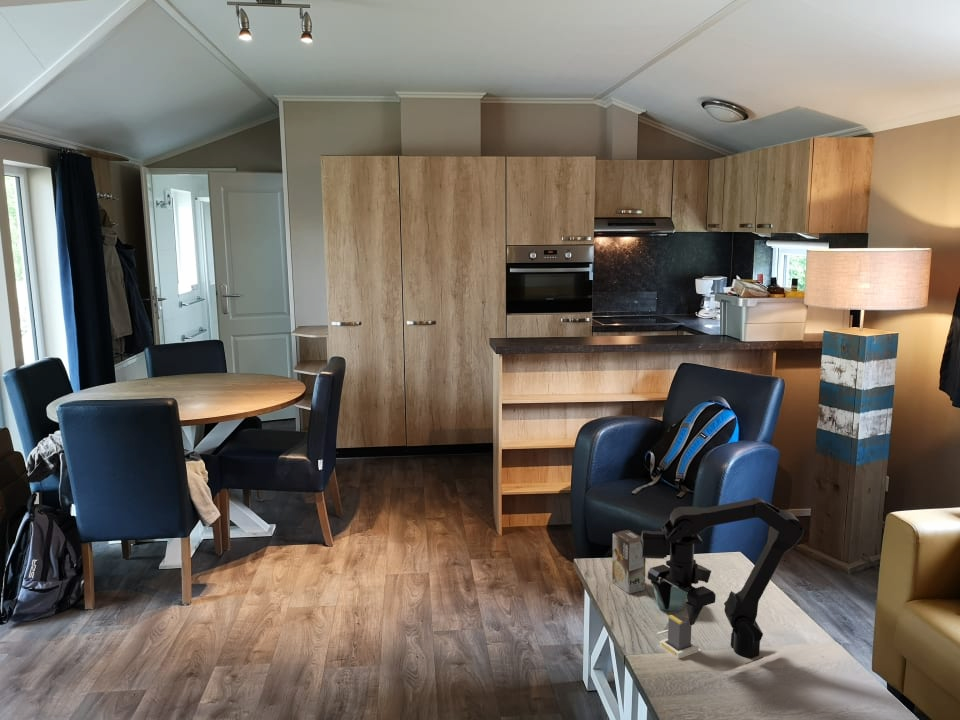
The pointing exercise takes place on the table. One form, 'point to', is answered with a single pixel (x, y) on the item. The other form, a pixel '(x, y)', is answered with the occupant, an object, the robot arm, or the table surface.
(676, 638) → the plug
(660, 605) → the flower pot
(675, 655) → the header board
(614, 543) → the coffee box
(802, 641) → the table surface
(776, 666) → the table surface
